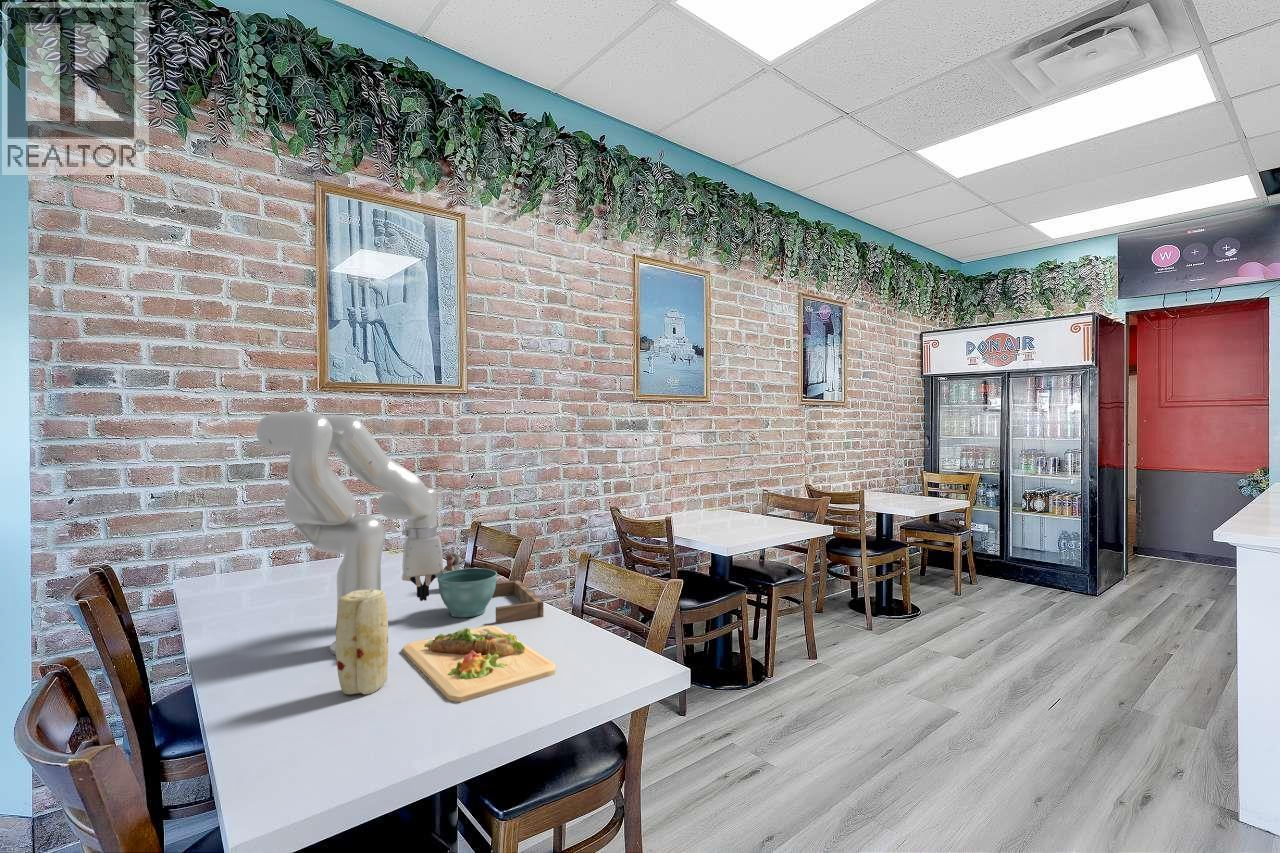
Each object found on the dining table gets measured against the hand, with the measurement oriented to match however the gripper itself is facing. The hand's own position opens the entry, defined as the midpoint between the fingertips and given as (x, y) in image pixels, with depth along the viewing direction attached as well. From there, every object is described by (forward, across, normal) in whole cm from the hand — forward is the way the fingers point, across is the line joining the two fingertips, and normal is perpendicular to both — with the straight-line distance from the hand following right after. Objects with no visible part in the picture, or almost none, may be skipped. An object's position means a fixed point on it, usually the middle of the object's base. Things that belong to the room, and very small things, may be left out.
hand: (422, 599), depth 163 cm
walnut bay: (+5, +23, -1) cm, 23 cm away
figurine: (+6, +12, +25) cm, 28 cm away
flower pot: (+5, +12, -1) cm, 13 cm away
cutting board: (+6, +7, -36) cm, 37 cm away
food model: (+5, -16, -41) cm, 44 cm away
